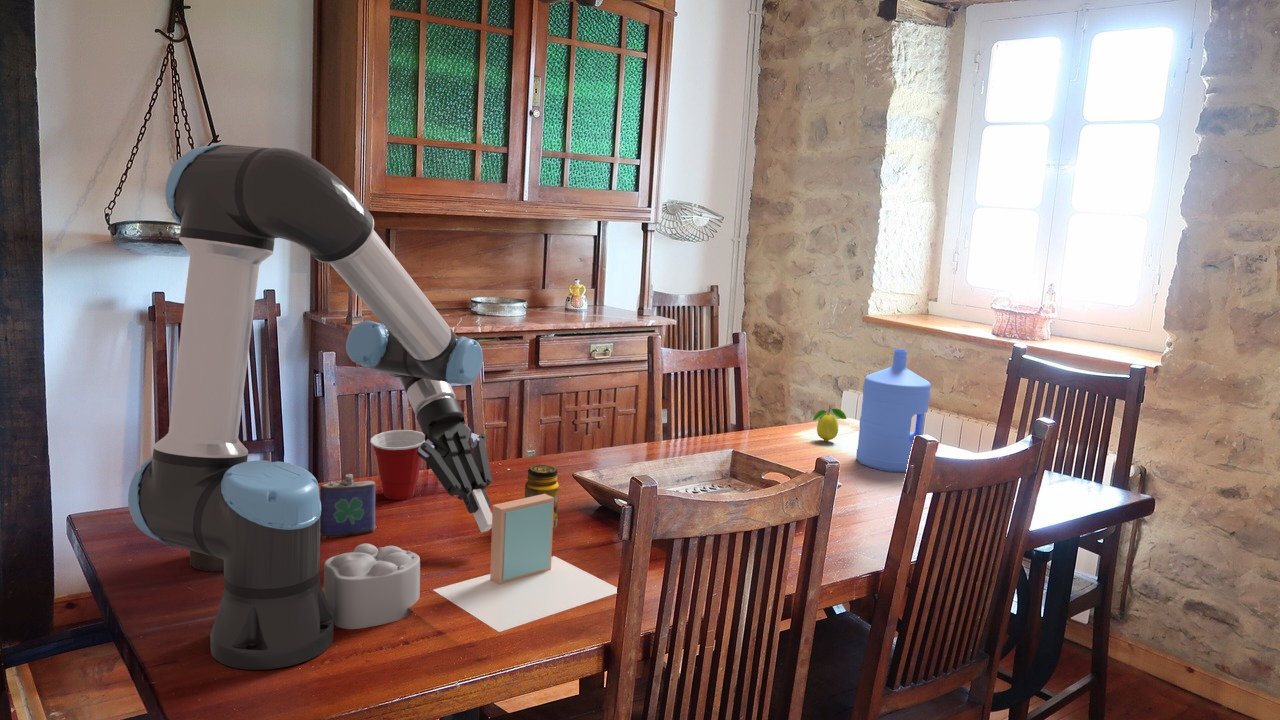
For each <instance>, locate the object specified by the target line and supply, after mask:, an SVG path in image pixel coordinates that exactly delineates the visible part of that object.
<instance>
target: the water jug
mask: <svg viewBox="0 0 1280 720" xmlns="http://www.w3.org/2000/svg"><path fill="white" fill-rule="evenodd" d="M893 352H894V355H893V356H892V358H893V359H892V365H891V366H890V367H887V368H884V369H881V370H878V371H876V372H873V373H871V374H867V375H866V376H865V377H864V382H863V387H862V401H861V402H862V403H861V410H860V411H861V412H860V413H861V414H860V418H859V430H858V431H859V433H858V443H857V448H856V456H855V457H856V460H857V461H858V462H859V463H860V464H862V465H863V466H865V467H867V468H871V469H875V470H879V471H884V472H890V471H891V472H892V473H907V472H906V469H907V464H908V459H909V455H910V451H911V447H912V444H913V440H914V436H916V435H922V436H923V431H924V421H925V416H926V415H925V414H926V413H927V412H928V411H929V406H930V405H929V403H930V399H931V386H932V385H931V382H930V381H928V380H927V379H925V378H923V377H922V376H920V375H919V374H917V373H916V372H913V371H912V370H911V369H908V368H907V367H908V366H907V361H908V357H907V355H908V352H909V351H908V350H906V349H898V348H897V349H896V348H895V349H893ZM915 415H916V419H915V427H914V432H913V431H911V429H912V428H911V427H912V419H913V417H914V416H915ZM891 472H890V473H891Z"/></svg>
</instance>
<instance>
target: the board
mask: <svg viewBox="0 0 1280 720" xmlns="http://www.w3.org/2000/svg"><path fill="white" fill-rule="evenodd" d="M617 588H618V587H617V586H615V585H612V584H611V583H608V582H607V581H605V580H603V579H601V578H598V577H597V576H595V575H593V574H591V573H589V572H587V571H585V570H582V569H581V568H579V567H577V566H575V565H573V564H571V563H570V562H567V561H565V560H563V559H561V558H559V557H557V556H555V555H553V556H552V557H551V570H548V571H545V572H541V573H538V574H535V575H531V576H528V577H524V578H521V579H517V580H514V581H510V582H507V583H503V584H500V585H499V584H497V583H495V582H494V581H492V580H490V573H488V574H484V575H481V576H478V577H474V578H471V579H467V580H463V581H459V582H456V583H452V584H449V585H445V586H441V587H437V588H434V589H432V591H433V592H435V593H437V594H438V595H439V596H441V597H443V598H445V599H446V600H447V601H449V602H450V603H452V604H454V605H456V606H457V607H458V608H460V609H462V610H464V612H467V613H468V614H470V615H471V616H472V617H475V618H476V619H477V620H479V621H481V622H482V623H484V624H485V625H487V626H489V627H490V628H491V629H493V630H494V631H496V632H498V633H502V632H505V631H508V630H510V629H513V628H517V627H520V626H522V625H525V624H529V623H532V622H535V621H537V620H541V619H543V618H546V617H547V618H548V617H550V616H553V615H556V614H559V613H561V612H565V611H569V610H570V609H574V608H577V607H579V606H580V607H581V606H583V605H585V604H588V603H592V602H595V601H598V600H601V599H604V598H608V597H610V596H613V595H616V594H618V593H617Z"/></svg>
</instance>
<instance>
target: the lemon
mask: <svg viewBox="0 0 1280 720" xmlns="http://www.w3.org/2000/svg"><path fill="white" fill-rule="evenodd" d="M831 411H832V413H833V414H831ZM836 417H837V418H838V419H841V420H846V419H848V418H847V415H846V414H845V412H844V411H843V410H842V409H839V408H832V407H831V405H830V404H828V410H819V411H818V412H817V413H815V415H814V416H813V419H812V421H817V420H818V422H817V424H816V434H817V436H818V437H819V438H820V439H822V440H823V441H824V442H826V443H827V442H829V441H830V440H833V439H835V438H836V437H837V436H838V433H839V422H838V419H837V418H836Z"/></svg>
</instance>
